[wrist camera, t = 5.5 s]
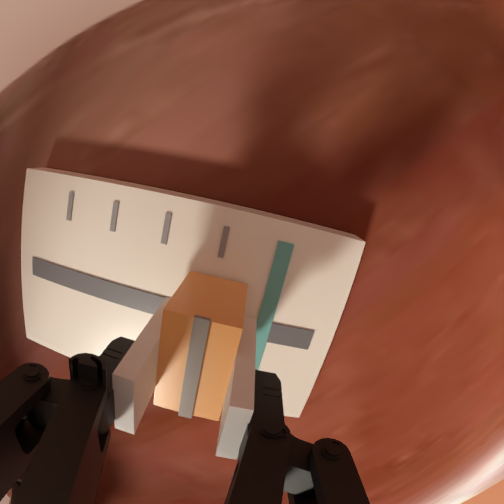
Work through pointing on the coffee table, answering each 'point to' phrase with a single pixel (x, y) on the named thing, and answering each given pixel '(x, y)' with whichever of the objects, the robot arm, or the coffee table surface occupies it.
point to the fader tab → (199, 345)
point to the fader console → (177, 269)
